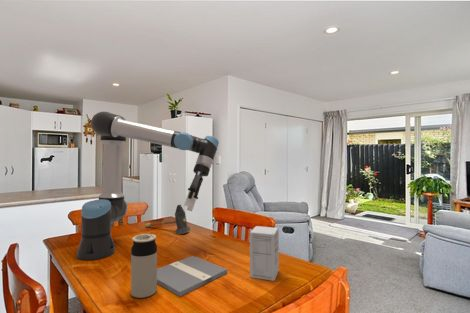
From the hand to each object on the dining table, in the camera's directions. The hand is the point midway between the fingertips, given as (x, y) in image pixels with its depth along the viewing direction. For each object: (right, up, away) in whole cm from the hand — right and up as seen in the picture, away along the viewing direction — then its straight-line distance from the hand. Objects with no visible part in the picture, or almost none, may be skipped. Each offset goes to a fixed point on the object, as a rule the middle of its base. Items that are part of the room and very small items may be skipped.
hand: (188, 208), depth 120 cm
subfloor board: (+4, -20, -22) cm, 30 cm away
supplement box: (+33, -21, -21) cm, 44 cm away
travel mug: (-8, -21, -34) cm, 41 cm away
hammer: (-19, -20, +35) cm, 45 cm away
